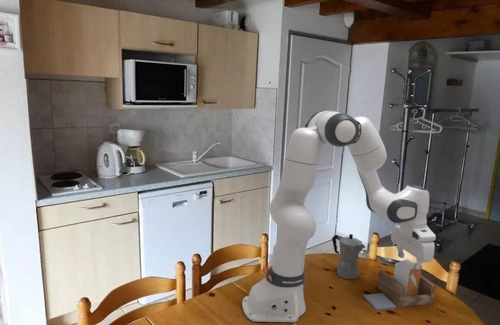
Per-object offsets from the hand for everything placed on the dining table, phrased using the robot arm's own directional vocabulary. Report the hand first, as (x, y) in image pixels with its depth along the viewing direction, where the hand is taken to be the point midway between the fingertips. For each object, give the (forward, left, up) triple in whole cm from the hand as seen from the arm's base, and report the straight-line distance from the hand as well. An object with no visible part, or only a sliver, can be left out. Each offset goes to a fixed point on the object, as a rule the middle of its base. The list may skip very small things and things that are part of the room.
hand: (408, 262), depth 137 cm
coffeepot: (-15, +20, -14) cm, 28 cm away
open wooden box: (0, 0, -14) cm, 14 cm away
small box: (0, 0, -14) cm, 14 cm away
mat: (-13, -3, -14) cm, 19 cm away
